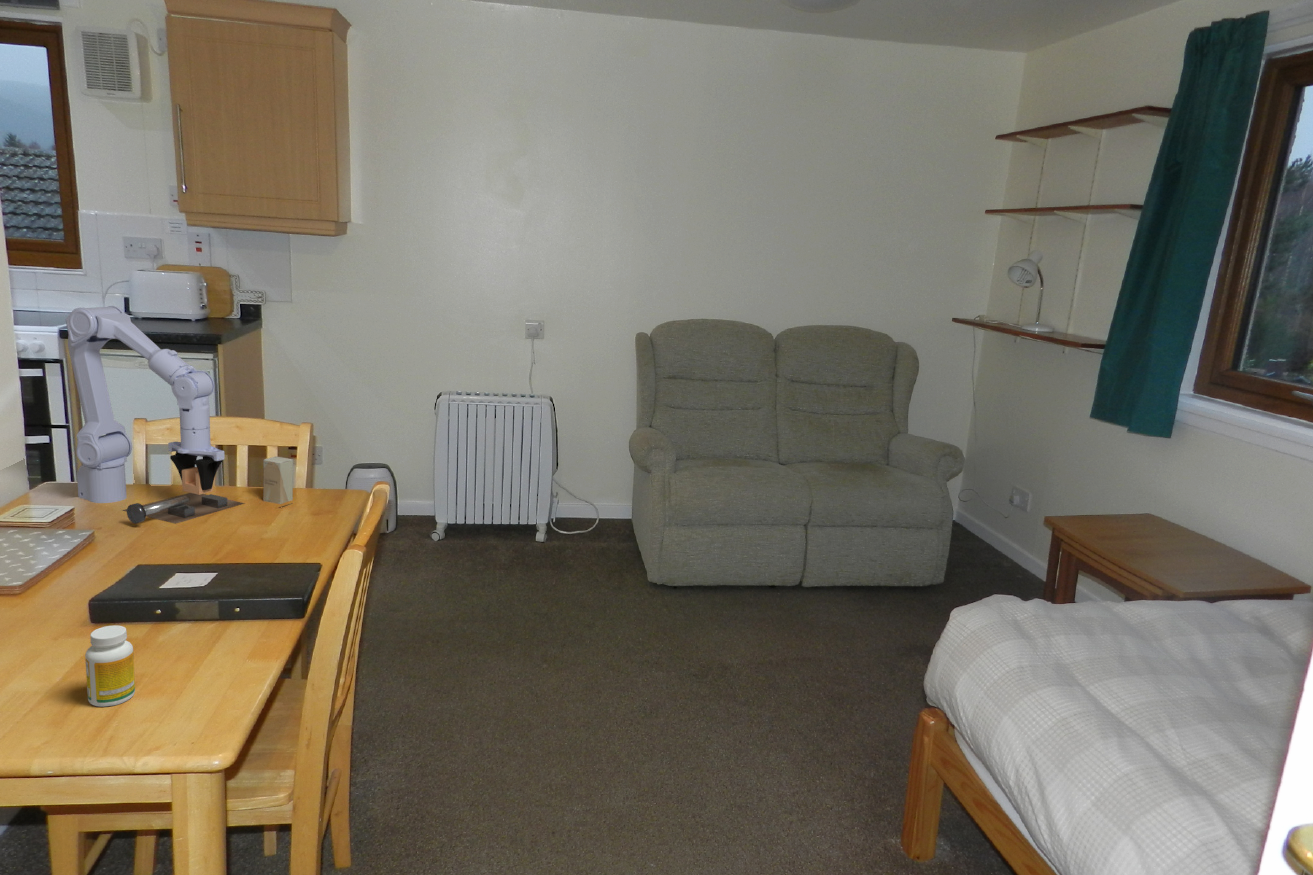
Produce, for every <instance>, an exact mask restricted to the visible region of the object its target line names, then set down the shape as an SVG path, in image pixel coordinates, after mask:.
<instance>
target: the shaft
mask: <svg viewBox="0 0 1313 875" xmlns="http://www.w3.org/2000/svg"><path fill="white" fill-rule="evenodd" d="M188 503H189V499H188V497H187V496H183V497H180V498H176V499H172V500H168V501H164V502H160V503H157V504H153V505H149V506H145V507H143V506H142V505H143V504H141V503H139V502H137V503H132V504H129V505H128V507H127V508H126V509H127V512H126V515H127V516H126V517H127V518H128V520H129V521H130V522H131V523H133V524H139V523H142V522H144V521H145V520H146V518H147V517H146V515H149V514H152V513H156V512H160V511H163V510H167V509H171V508H174V507H178V506H182V505H185V504H188Z"/></svg>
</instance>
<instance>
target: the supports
mask: <svg viewBox="0 0 1313 875" xmlns="http://www.w3.org/2000/svg"><path fill="white" fill-rule="evenodd" d="M227 499H228V497H226V496H220V495H218V494H217V495H215V494H212V493H210V494H206V496H202V505H205V506H210V507H214V508H222V507H225V506H227ZM168 514H170V515H174V516H178V517H182V518H187V517H190V516H194V515H195V507H193V506H189V505H182V506H178V507H174V508H171V509H168Z"/></svg>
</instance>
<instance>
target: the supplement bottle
mask: <svg viewBox="0 0 1313 875" xmlns="http://www.w3.org/2000/svg"><path fill="white" fill-rule="evenodd" d="M127 633H128V632H127V628H126V627H125V626H123V625H116V624H115V625H105V626H102V627H100V628H96V629H94V630H93V631H92V632H90V645H91V646H90V647H89V648H87V649H86V651H85V656H84V657H85V658H84V660H85V672H86V674H85V675H86V690H87V693H86V694H87V701H88V702H89V704H90V705H92V706H93V707H102V708H103V707H104V708H105V707H112V706H118V705H121V704H123V703H126V702H127V701H129V700H130V699H131V698H132V697H133V696H134V695H135V693H136V681H135V661H134V659H135V658H134V657H135V656H134V647H133V644H132V643H131V642H130V641H128V640H127V638H128V635H127Z"/></svg>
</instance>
